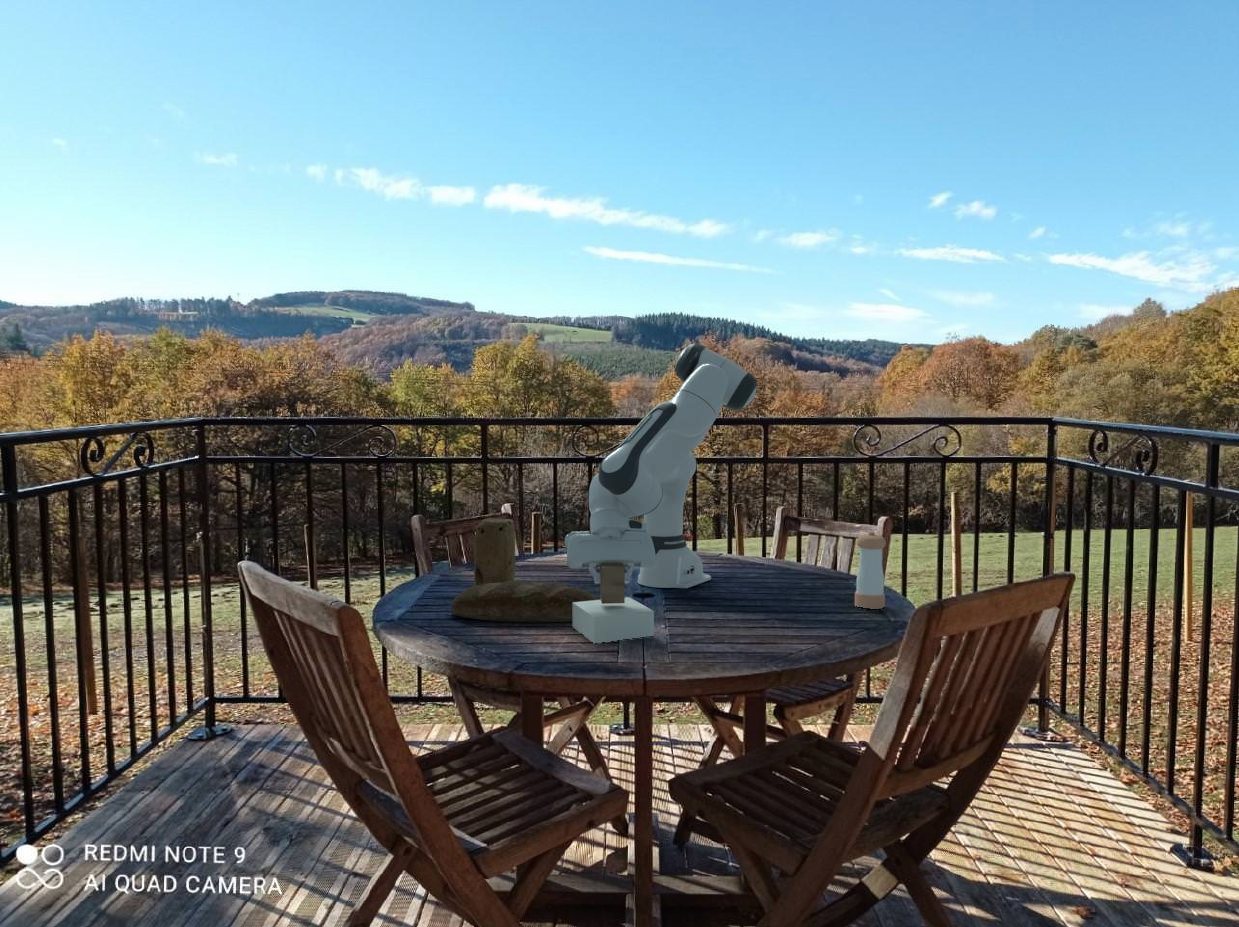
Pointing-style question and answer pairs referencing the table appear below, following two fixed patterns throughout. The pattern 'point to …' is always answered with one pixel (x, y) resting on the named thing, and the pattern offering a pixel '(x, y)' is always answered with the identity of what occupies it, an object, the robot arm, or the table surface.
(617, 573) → the walnut block
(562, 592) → the bread
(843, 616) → the table surface
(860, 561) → the pepper shaker
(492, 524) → the block
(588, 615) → the painted base block
